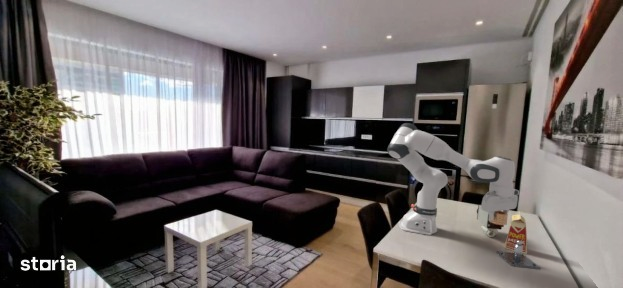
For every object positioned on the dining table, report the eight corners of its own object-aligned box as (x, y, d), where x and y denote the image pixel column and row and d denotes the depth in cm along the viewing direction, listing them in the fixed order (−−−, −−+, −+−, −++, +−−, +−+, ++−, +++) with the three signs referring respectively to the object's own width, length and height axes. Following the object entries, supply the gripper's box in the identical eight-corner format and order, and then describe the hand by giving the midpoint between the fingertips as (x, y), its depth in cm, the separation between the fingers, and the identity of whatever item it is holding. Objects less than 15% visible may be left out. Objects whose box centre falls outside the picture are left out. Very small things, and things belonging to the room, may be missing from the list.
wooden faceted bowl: (493, 224, 117) (494, 214, 116) (485, 218, 123) (486, 208, 123) (510, 225, 115) (511, 215, 115) (501, 220, 122) (502, 210, 122)
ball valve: (504, 242, 141) (508, 212, 140) (488, 240, 143) (491, 210, 141) (489, 229, 159) (492, 202, 157) (474, 227, 160) (477, 200, 159)
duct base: (511, 265, 117) (513, 245, 116) (496, 252, 129) (498, 234, 128) (539, 269, 116) (542, 248, 115) (522, 255, 128) (524, 236, 127)
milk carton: (504, 243, 141) (508, 208, 139) (526, 248, 135) (530, 213, 133) (504, 249, 134) (508, 213, 132) (526, 255, 128) (531, 217, 126)
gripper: (492, 194, 111) (489, 223, 113) (521, 191, 119) (518, 219, 120) (478, 190, 117) (476, 218, 119) (507, 187, 125) (504, 214, 126)
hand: (497, 218), depth 119 cm, fingers closed on wooden faceted bowl, 7 cm apart
